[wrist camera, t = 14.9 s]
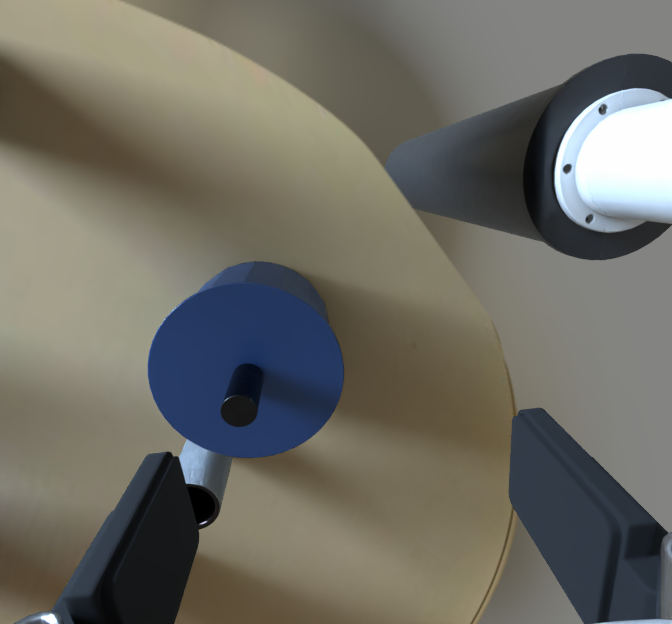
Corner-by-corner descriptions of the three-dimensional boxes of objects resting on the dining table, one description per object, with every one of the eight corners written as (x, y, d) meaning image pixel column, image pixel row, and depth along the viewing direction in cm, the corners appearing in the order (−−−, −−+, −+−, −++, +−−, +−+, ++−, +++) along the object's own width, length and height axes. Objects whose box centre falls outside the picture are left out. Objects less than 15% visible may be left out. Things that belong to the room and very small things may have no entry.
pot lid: (268, 239, 27) (259, 254, 21) (377, 386, 31) (393, 430, 26) (111, 351, 28) (67, 391, 23) (235, 478, 32) (222, 536, 27)
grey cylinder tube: (197, 406, 40) (164, 479, 30) (243, 415, 41) (225, 489, 31) (189, 444, 41) (154, 526, 31) (234, 452, 42) (213, 535, 32)
